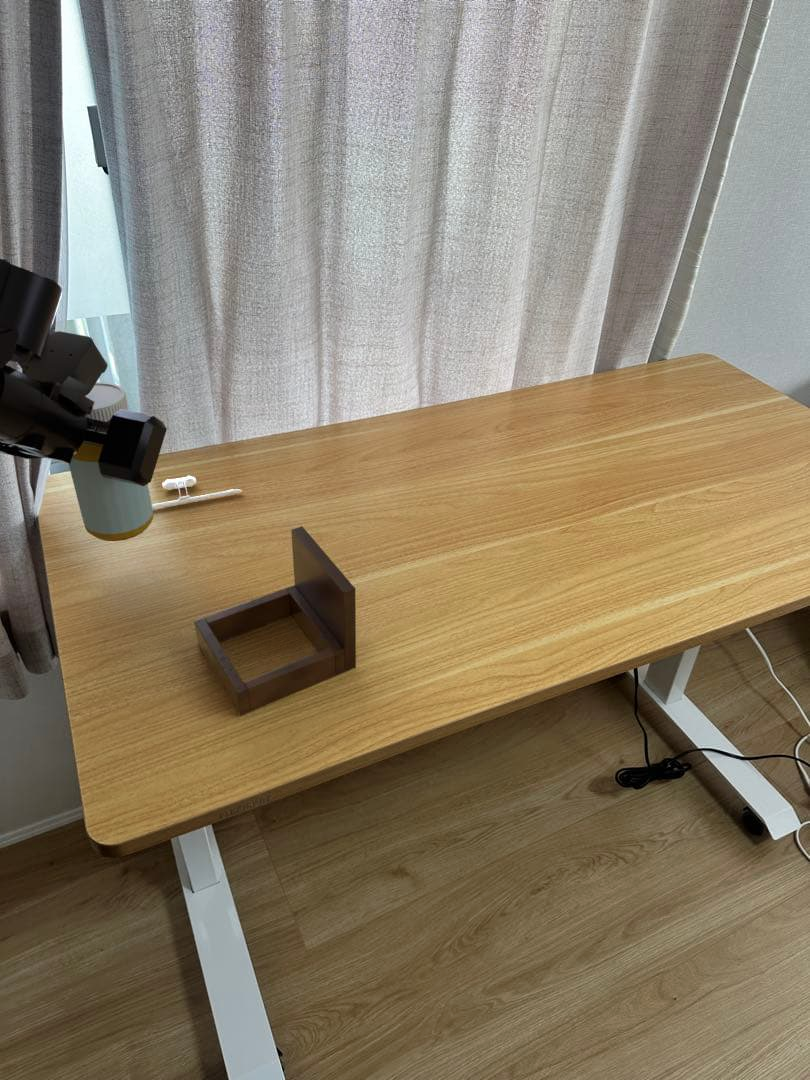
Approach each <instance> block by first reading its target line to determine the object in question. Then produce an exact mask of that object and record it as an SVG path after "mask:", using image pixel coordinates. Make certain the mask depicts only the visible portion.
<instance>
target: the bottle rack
mask: <svg viewBox="0 0 810 1080" xmlns="http://www.w3.org/2000/svg"><path fill="white" fill-rule="evenodd" d="M290 531H291V532H290V533H291V549H292V561H293V575H294V576H293V578H294V584H293V585H291V586H288V587H286V588H282V589H280V590H277V591H274V592H270V593H267V594H266V595H263V596H260V597H257V598H255V599H252V600H249V601H246V602H243V603H239V604H238V605H235V606H232V607H229V608H226V609H224V610H223V609H222V610H221V611H218V612H215V613H213V614H209V615H207V616H205V617H201V618H199V619H195V620H194V621H193V623H194V629H195V635H196V640H197V641H196V642H197V644H198V646H199V648H200V649H201V651H202V653H203V655H204V656H205V658H206V660H207V661H208V663H209V665H210V667H211V668H212V670H213V673H214V674H215V676H216V677H217V679H218V680H219V682H220V684H221V685H222V687H223V689H224V692H225V693H226V694H227V696H228V698H229V700H230V701H231V703H232V705H233V706H234V708H235V710H236V712H237V713H238V715H239V716H240V717H242V716H244V715H246V714H249V713H251V712H254V711H256V710H258V709H261V708H262V707H265V706H268V705H271V704H273V703H275V702H277V701H280V700H282V699H284V698H287V697H289V696H291V695H294V694H296V693H299V692H301V691H303V690H306V689H308V688H310V687H313V686H315V685H318V684H320V683H323V682H324V681H327V680H329V679H332V678H334V677H336V676H339V675H342V674H344V673H346V672H348V671H351V670H353V669H355V668H357V639H356V638H357V637H356V636H357V635H356V634H357V633H356V632H357V631H356V630H357V628H356V627H357V625H356V624H357V621H356V619H357V618H356V612H357V611H356V587H355V586H354V585H353V584H352V583H351V582H350V580H349V579H348V578H347V577H346V575H344V573H343V572H342V571H341V570H340V569H339V567H338V565H336V564H335V562H333V560H332V559H331V558H330V557H329V556H328V555H327V553H326V552H325V551H324V550H323V549H322V547H320V545H319V544H318V542H317V541H315V539H314V538H313V537H312V536H311V535H310V534H309V532H308V531H307V530H306V528H304V526H302V525H301V526H298V527H295V528H292V529H291V530H290ZM290 616H291V617H292V618H293V619H294V621H295V623H297V625H298V626H299V627H300V629H301V631H302V632H303V633H304V634H305V636H306V637H307V638H308V640H309V641H310V643H311V644H312V645H313V647H314V648H315V649H316V651H317V652H315V653H312V654H309V655H307V656H305V657H303V658H300V659H297V660H295V661H293V662H290V663H288V664H285V665H283V666H280V667H278V668H275V669H273V670H271V671H267V672H265V673H264V674H261V675H258V676H256V677H253V678H250V679H247V680H246V681H243V679H242V678H241V676H240V674H239V673H238V671H237V669H236V668H235V667H234V664H233V663H232V661H231V659H230V658H229V657H228V655H227V653H226V652H225V650H224V648H223V647H222V645H221V642H224V641H226V640H230V639H232V638H235V637H237V636H241V635H242V634H245V633H248V632H251V631H253V630H256V629H259V628H261V627H264V626H267V625H269V624H272V623H275V622H277V621H280V620H283V619H286V618H288V617H290Z"/></svg>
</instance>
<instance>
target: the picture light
mask: <svg viewBox="0 0 810 1080" xmlns="http://www.w3.org/2000/svg"><path fill="white" fill-rule="evenodd" d="M196 484H197V479H196V477H195V476H192V475H187V476H183V477H178V478H172V479H171V478H167V479H166V480H165V481H163V482H162V483H161V485H162V488H163V490H167V491H172V490H177V489H178V493H179V494H178V495H179V497H178V499H175V500H168V501H163V502H157V503H152V509H153V510H160V509H165V508H171V507H175V506H180V505H181V506H182V505H186V504H192V503H196V502H197V503H198V502H202V501H208V500H213V499H218V498H223V497H224V498H225V497H230V496H235V495H238V494H240V493H241V492H243V489H239V488H235V489H233V488H232V489H228V490H222V491H217V492H213V493H212V492H211V493H208V494H200V495H196V496H191V495H189V493H188V488H187V487H189V488H191V487H193V486H194V485H196ZM183 488H184V489H185V492H186V495H184V496H182V495H181V490H180V489H183Z"/></svg>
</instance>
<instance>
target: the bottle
mask: <svg viewBox="0 0 810 1080" xmlns="http://www.w3.org/2000/svg"><path fill="white" fill-rule="evenodd" d="M85 397H87V398H89V399H90V400H92V401H94V405H93V409H92V412H91V414H90V415H88V414H86V416H85V417H88V418H92V419H97V420H102V421H109V420H110V419H111V418H112V415H114V414H115V413H116V412H118V411H119V410H120V409H123V410H128V411H130V409H129V404H128V398H127V393H126V390H125V389H124V388H123V387H122V386H121V385H118V384H117V383H113V382H104V381H102V382H101V381H97V382H96V384H95V385H94V387H93V389H92V390H91V392H90V393H89V394H88V395H86V396H85ZM87 430H90V431H94V432H99V431H95V430H94V429H93V430H91V429H87ZM99 433H103V432H101V431H100V432H99ZM104 434H107V433H105V432H104ZM101 450H102V447H100V446H96V445H92V444H87V443H82V445H81V446H80V448H79V450H78V452H77V453H76V454H73V457H72V460H71V463H70V464H68V467H69V471H70V475H71V479H72V483H73V486H74V492H75V496H76V499H77V502H78V507H79V511H80V514H81V515H80V516H81V518H82V523H83V525H84V528H85V531H86V532H87V533H88V534H89V535H91V536H92V537H95V538H96V539H98V540H102V541H105V542H120V541H126V540H129V539H133V538H135V537H137V536H139V535H141V534H143V533H144V532H145V531H147V529H148V528H149V526H151V524H152V522H153V520H154V511H153V509H152V504H153V503H152V499H151V493H150V488H149V483H148V484H147V485H145V486H140V485H135V484H131V483H127V482H123V481H119V480H115V479H111V478H107V477H103V476H102V474H101V473H100V469H99V464H98V460H99V457H100V454H101Z"/></svg>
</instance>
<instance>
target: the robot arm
mask: <svg viewBox="0 0 810 1080" xmlns="http://www.w3.org/2000/svg"><path fill="white" fill-rule="evenodd" d="M62 296H63V288H62V287H61V286H60V285H59V284H58V283H57V282H56V281H54V280H53V279H52V278H49V277H44V276H41V275H40V274H37V273H35V272H34V271H31V270H28V269H26V268H24V267H21V266H18V265H15V264H13V263H11V262H9V261H8V260H7V259H5V258H3V257H0V454H3V455H9V456H13V457H16V458H21V459H26V460H34V459H35V460H36V459H37V460H38V459H47V460H51V461H55V462H61V463H65V464H68V465H69V464H70V463H71V460H72V457H73V454H76V453H77V452H78V450H79V448H80V446H81V445H82V443H87V444H92V445H96V446H100V447H102V450H101V454H100V457H99V460H98V464H99V469H100V473H101V474H102V476H103V477H107V478H111V479H115V480H119V481H123V482H127V483H131V484H135V485H140V486H145V485H147V484H148V485H149V484H150V483H151V482H152V480H153V477H154V473H155V470H156V467H157V463H158V460H159V457H160V453H161V450H162V446H163V444H164V440H165V437H166V433H167V430H168V429H167V427H166V425H165V423H164V421H162V420H161V419H159V418H158V417H156V416H154V415H152V414H148V413H147V414H146V413H142V412H138V411H133V410H129V411H128V410H123V409H120V410H119V411H118V412H116V413H115V414H114V415H112V418H111V419H110V420H109V421H102V420H97V419H92V418H88V417H85V416H86V414H88V415H90V414H91V412H92V409H93V405H94V401H92V400H90V399H89V398H87V397H85V396H86V395H88V394H89V393H90V392H91V390H92V389H93V387H94V385H95V384H96V382H99V381H98V380H99V379H100V378H101V376H102V374H104V373H105V372H106V371H107V369H108V362H107V360H106V358H105V357H104V355H103V354H102V351H100V349H99V347H98V346H97V344H96V342H95V340H94V339H93V338H92V337H90V336H87V335H83V334H77V333H72V332H67V331H61V330H57V331H53V332H51V330H52V327H53V324H54V321H55V318H56V315H57V312H58V308H59V305H60V302H61V299H62ZM10 361H11V362H14V363H17V365H19V367H20V368H21V372H20V371H18V370H17V369H15V368H13V367H12V366H10V365H8V363H9V362H10ZM87 429H91V430H93V429H94V430H95V431H99V432H100V431H101V432H103V433H99V432H94V431H90V430H87ZM104 432H105V433H107V434H104Z"/></svg>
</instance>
